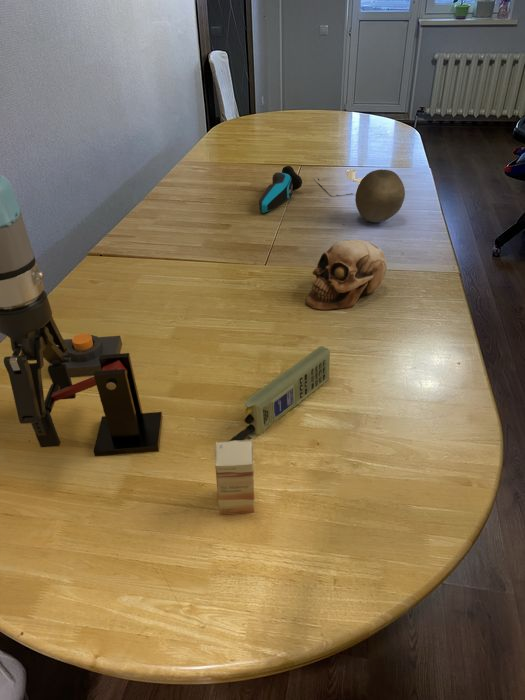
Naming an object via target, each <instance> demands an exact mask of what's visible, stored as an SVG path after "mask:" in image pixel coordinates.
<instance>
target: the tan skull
mask: <svg viewBox="0 0 525 700" xmlns="http://www.w3.org/2000/svg"><path fill="white" fill-rule="evenodd" d="M386 259H387V258H386V256H385V254H384V252H383V251H382V250H381V248H380V247H378V246H377V245H375V244H374V243H372V242H369V241H366V240H363V239H347V240H341V241H337V242H335V243H333V245H331V246H330V247H329V248H328V250H327V251H325V252H323V253H322V254H321V256H320V258H319V260H318V262H317V265H316V267H315V269H314V270H312V275H313V276H315V279H314V280H313V282H312V285H311V290H310V291H309V293H308V294H307V295H306V297H305V299H304V303H305V304H306V305H308V306H309V307H310V308H312V309H316V310H321V311H327V310H334V309H337V310H340V309H343V308H346V309H348V308H352V307H353V306H354V305H355V304H356V303H357V301H358V300H359V298H360V296H367V295H371V294H372V293H373V292H375V291H376V290H377V289H378V288H379V287H380V286H381V284H382V283H383V281H384V279H385V276H386V272H387V267H388V265H387V260H386Z"/></svg>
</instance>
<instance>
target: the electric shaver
mask: <svg viewBox="0 0 525 700" xmlns="http://www.w3.org/2000/svg"><path fill="white" fill-rule="evenodd" d="M302 186H303V179H302V177H301V176H300V175H299V174H298V173H296V171H295V169H294V168H293V167H292V166H291V165H285V166H283V168H281V172H280V171H278V172H275V173H274V174H273V175H272V183H271V184H269V185H268V186H267V187H266V188H265V190H264V191H263V193H262V194H261V195H260V198H259V202H258V206H259V212H260V213H261V214H265V213H267V212H270V211H272V210H275V209H276V208H278V207H279V206H280V205H282V204H283V203H284V202H287V201H288V200H289V199H291V198H292V195H293V192H294V191H296V190H298V189H300V188H301V187H302ZM290 197H291V198H290Z"/></svg>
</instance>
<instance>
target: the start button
mask: <svg viewBox="0 0 525 700" xmlns="http://www.w3.org/2000/svg"><path fill="white" fill-rule="evenodd" d="M91 335H92V334H89V333H79V334H77V335H75V336H73V337H72V338H71V339H72V342H73V346H74V349H75V350H77V351H82V350H87V349H89V348H91V347H92V346H93V341H92V337H91Z"/></svg>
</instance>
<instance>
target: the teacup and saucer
mask: <svg viewBox="0 0 525 700" xmlns="http://www.w3.org/2000/svg"><path fill="white" fill-rule="evenodd" d="M356 173H357V170H356V169H354V168H353V169H352V168H351V169H347V170H346V171H345V176H347V179H348V180H353V182H356V183H360V182H361V180H362V178H358V179H355V175H356Z"/></svg>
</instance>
